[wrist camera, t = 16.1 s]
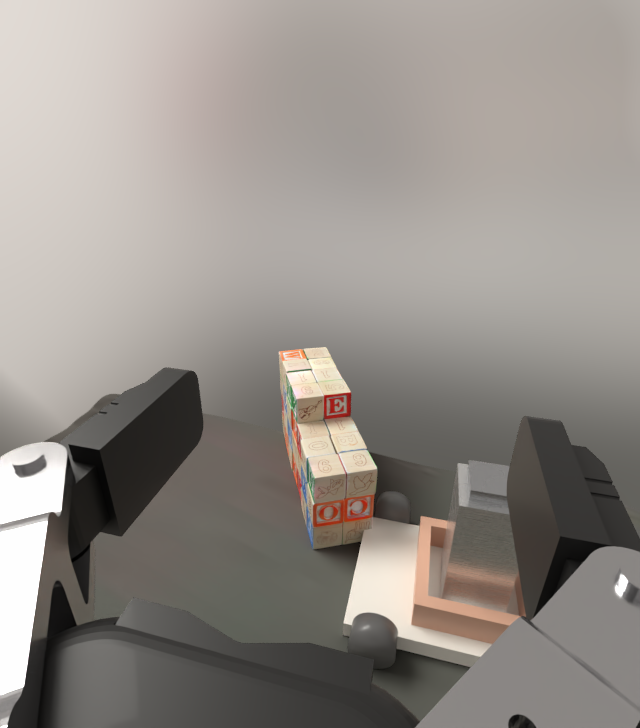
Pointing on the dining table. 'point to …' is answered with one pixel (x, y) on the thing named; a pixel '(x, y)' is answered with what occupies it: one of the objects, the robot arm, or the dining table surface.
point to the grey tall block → (479, 539)
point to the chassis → (414, 595)
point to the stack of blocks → (325, 449)
